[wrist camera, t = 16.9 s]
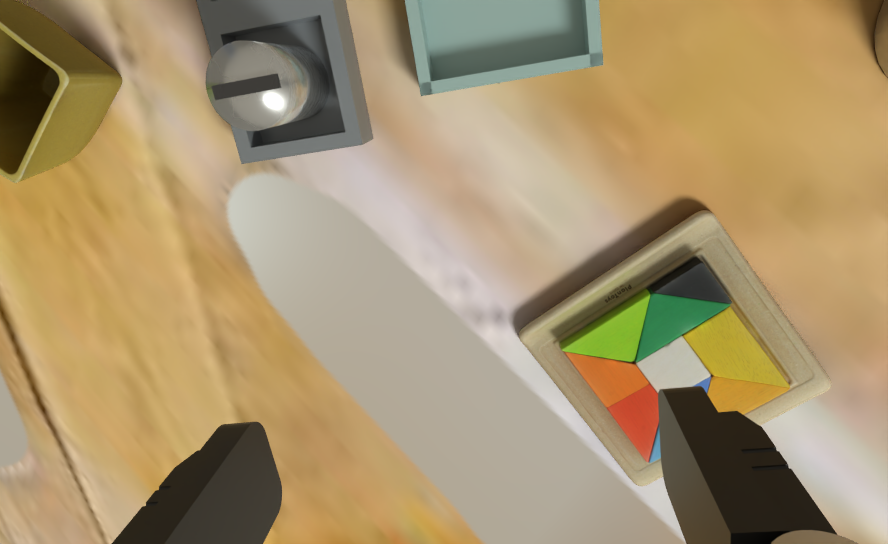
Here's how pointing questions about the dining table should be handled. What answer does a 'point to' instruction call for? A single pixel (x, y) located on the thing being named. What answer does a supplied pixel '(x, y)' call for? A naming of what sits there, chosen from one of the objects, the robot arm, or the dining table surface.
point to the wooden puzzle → (673, 342)
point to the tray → (500, 40)
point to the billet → (265, 84)
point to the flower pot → (46, 93)
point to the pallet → (326, 35)
